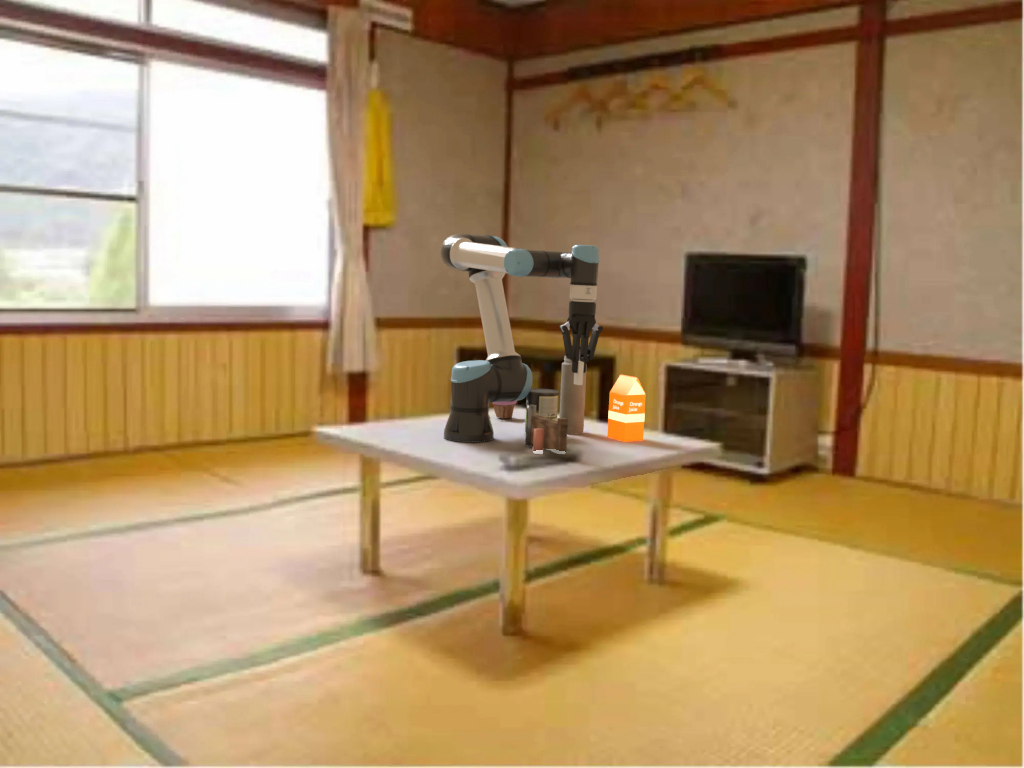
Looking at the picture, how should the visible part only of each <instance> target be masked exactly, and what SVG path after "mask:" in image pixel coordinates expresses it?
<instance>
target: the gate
mask: <svg viewBox="0 0 1024 768" xmlns="http://www.w3.org/2000/svg"><path fill="white" fill-rule="evenodd" d="M531 420H532V427H531V444H533V436H534V429H535V428H541V429H544V450H546V449H556V450H559V451H565V452H566V453H567V445H568V434H567V427H568V419H566V418H559V417H557V421H555V420H552V419H549V418H545V417H542V416H539V415H531Z"/></svg>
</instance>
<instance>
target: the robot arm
mask: <svg viewBox="0 0 1024 768" xmlns="http://www.w3.org/2000/svg"><path fill="white" fill-rule="evenodd" d="M571 248H572V249H571V251H560V250H537V249H527V248H518V247H510V246H508V245H507V243H506V242H505V241H504V239H502V238H501V237H499V236H496V235H495V236H494V235H490V234H470V233H469V234H467V233H455V234H452V235H450V236H448V237H446V239H444V240H443V242H442V244H441V246H440V253H439V255H440V259H441V261H442V263H443V264H444V265H445V266H446V267H447V268H449V269H451V270H454V271H457V272H458V271H459V272H468V279H469V281H470V282H471V283H473V284H474V287H475V290H476V295H477V302H478V308H479V313H480V319H481V324H482V330H483V336H484V340H485V341H484V342H485V347H486V352H487V357H486V359H485V360H482V359H481V360H480V359H478V360H466V361H461V362H457V363H455V364H454V365H453V366H452V368H451V377H450V381H451V382H450V386H451V387H450V408H449V409H450V411H449V412H450V413H449V415H448V418H447V421H446V424H445V427H444V429H443V438H444V439H445V440H449V441H454V442H461V443H463V442H464V443H482V442H484V443H485V442H489V441H493V440H494V427H493V425H492V422H491V417H490V414H489V410H490V406H489V405H490V404H491V403H492V404H493V403H494V402H513V401H517V402H519V401H522V400H523V399H526V397H527V395H528V393H529V391H530V389H532V386H533V372H532V370H531V368H530V367H529V365H528V364H525V363H524V362H522V357H521V354H519V353H517V352H516V349H515V346H514V338H513V335H512V334H513V333H512V329H511V328H512V327H511V322H510V317H509V312H508V306H507V300H506V294H505V290H504V285H503V278H504V277H505V275H506V274H508V275H509V276H512V277H516V278H519V277H520V278H523V277H527V278H528V277H530V278H531V277H532V278H535V277H536V278H552V279H553V278H554V279H570V282H569V284H570V285H569V300H570V301H569V302H568V318H567V321H566V322H565V323H563V324H560V325H559V326H558V327H559V328H558V329H559V330H560V332H561V335H562V340H563V341H562V342H563V347H564V352H565V353H564V354H565V356H566V358H568V359H570V360H572V372H573V373H574V384H576V385H583V373H585V372H586V373H587V369H586V364H587V363H588V362H589V361H590V360H593V359H594V356H595V352H596V349H597V345H598V342H599V338H600V334H601V333H602V331H603V330H604V327H603V326H601V325H599V324H598V323H597V320H596V309H597V303H596V302H595V301H596V300H597V294H598V293H597V292H598V277H599V263H600V257H599V256H600V253H599V248H598V246H597V245H592V244H574V245H573V246H572V247H571ZM570 329H571V332H570ZM591 330H592V332H591ZM571 333H572V334H571ZM590 333H591V334H590ZM571 336H572V337H571ZM571 338H572V339H571ZM579 355H580V361H579Z"/></svg>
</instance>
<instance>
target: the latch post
mask: <svg viewBox="0 0 1024 768" xmlns="http://www.w3.org/2000/svg"><path fill="white" fill-rule="evenodd" d="M536 450H543V451H544V450H545V449H544V429H541V428H535V429H534V436H533V446H532V452H533V451H536Z"/></svg>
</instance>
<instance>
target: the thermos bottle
mask: <svg viewBox="0 0 1024 768" xmlns="http://www.w3.org/2000/svg"><path fill="white" fill-rule="evenodd" d="M563 360H564V361H563V362H562V363H561V379H560V393H559V394H560V400H559V417H558V418H566V419H568V427H567V435H582V434H584V430H585V429H584V427H585V425H584V424H585V410H586V409H585V407H586V390H587V389H586V385H587V371H586V372H585V373H583V385H576V384H574V373H573V372H572V360H570V359H568V358H566V355H564V358H563ZM579 361H580V355H579ZM586 370H587V363H586Z"/></svg>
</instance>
